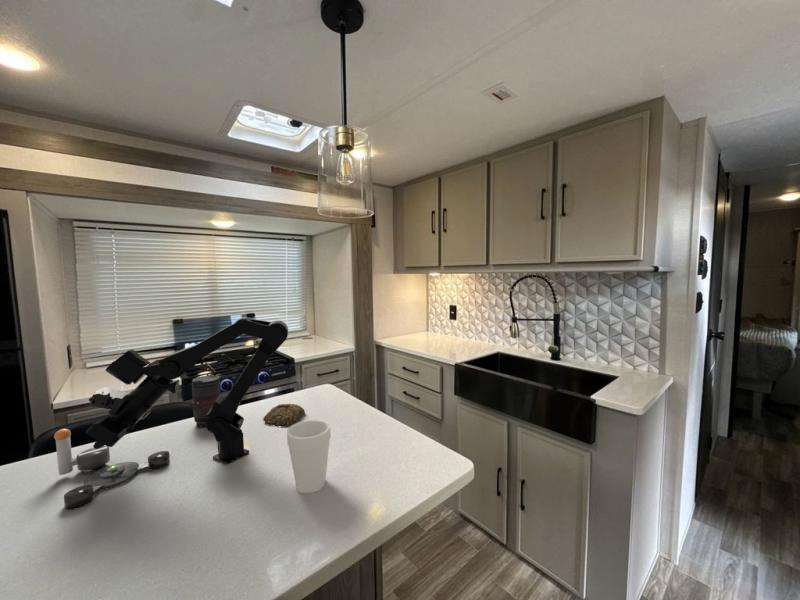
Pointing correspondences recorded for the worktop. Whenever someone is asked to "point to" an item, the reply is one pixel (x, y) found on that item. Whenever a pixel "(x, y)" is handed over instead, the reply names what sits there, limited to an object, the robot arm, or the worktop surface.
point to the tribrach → (111, 478)
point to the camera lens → (204, 397)
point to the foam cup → (309, 453)
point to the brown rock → (284, 415)
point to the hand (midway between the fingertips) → (95, 447)
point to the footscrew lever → (84, 459)
